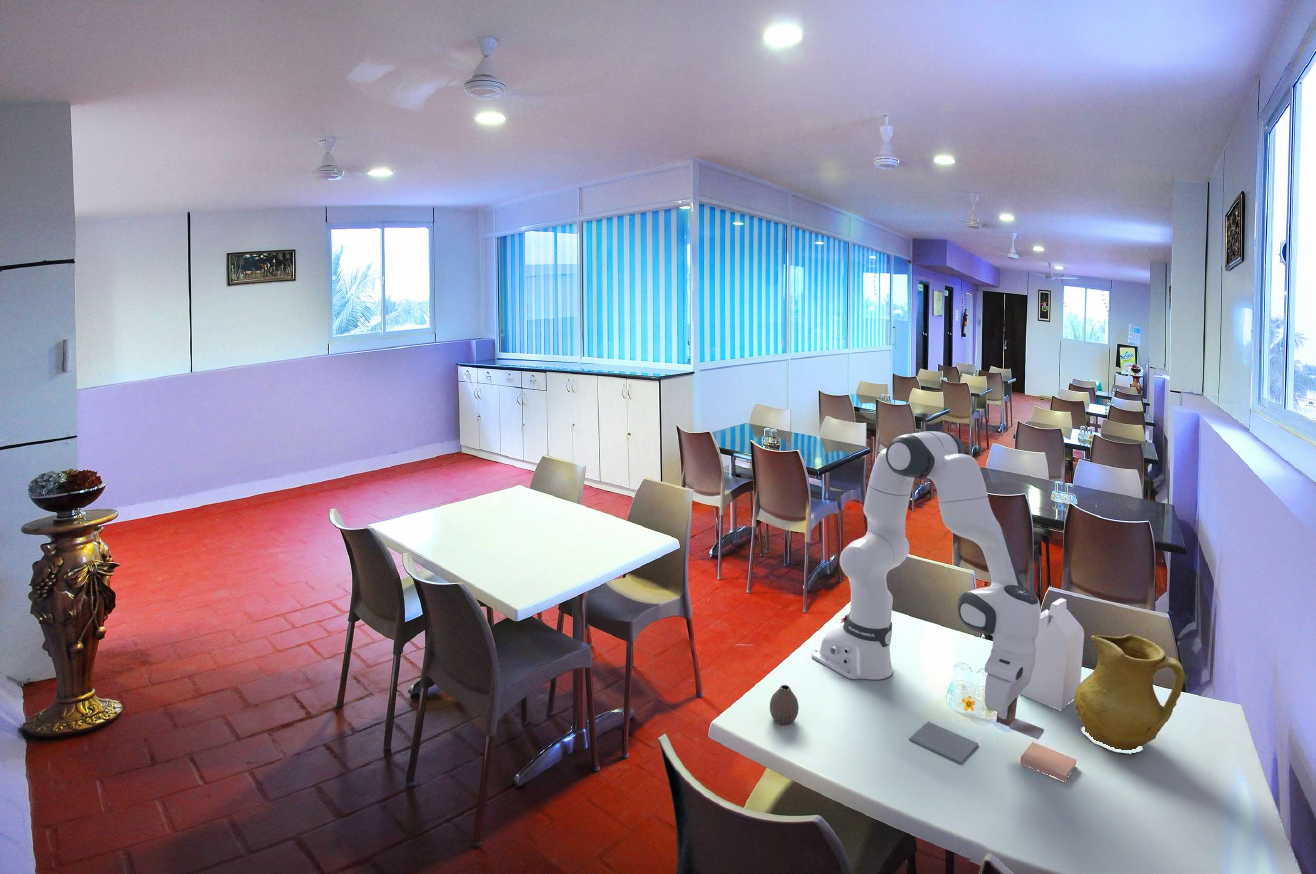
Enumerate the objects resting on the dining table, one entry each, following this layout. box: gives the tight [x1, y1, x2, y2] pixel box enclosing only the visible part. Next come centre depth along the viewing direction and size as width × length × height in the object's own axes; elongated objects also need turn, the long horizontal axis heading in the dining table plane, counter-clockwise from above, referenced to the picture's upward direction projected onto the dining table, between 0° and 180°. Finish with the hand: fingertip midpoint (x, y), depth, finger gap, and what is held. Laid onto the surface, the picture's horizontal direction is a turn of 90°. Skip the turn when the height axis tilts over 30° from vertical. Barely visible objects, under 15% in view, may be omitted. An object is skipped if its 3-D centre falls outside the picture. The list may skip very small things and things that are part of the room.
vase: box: [769, 684, 800, 726], centre depth 167 cm, size 7×7×9 cm
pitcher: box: [1073, 633, 1185, 750], centre depth 161 cm, size 17×19×25 cm
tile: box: [1019, 741, 1077, 783], centre depth 153 cm, size 2×8×9 cm
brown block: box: [996, 698, 1045, 740], centre depth 156 cm, size 9×4×6 cm, turn 45°
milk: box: [1019, 597, 1085, 711], centre depth 181 cm, size 12×12×26 cm
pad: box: [908, 721, 979, 765], centre depth 160 cm, size 12×10×1 cm
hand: (1006, 713), depth 158 cm, fingers closed on brown block, 3 cm apart
